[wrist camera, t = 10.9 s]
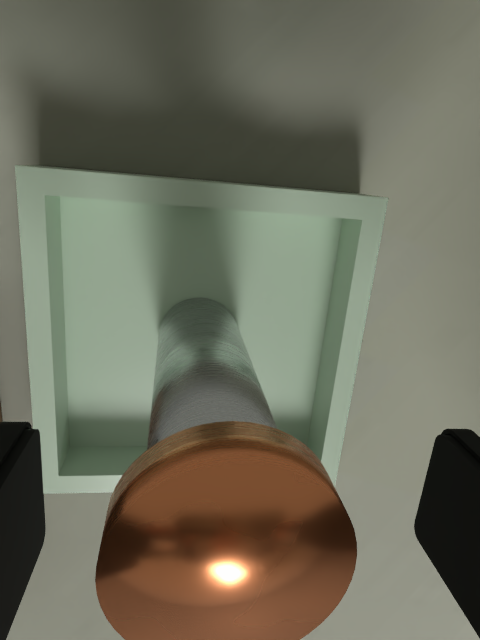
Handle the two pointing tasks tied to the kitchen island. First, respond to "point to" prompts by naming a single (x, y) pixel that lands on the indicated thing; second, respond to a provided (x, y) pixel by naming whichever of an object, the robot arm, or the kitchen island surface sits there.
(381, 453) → the kitchen island surface
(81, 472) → the tray
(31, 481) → the robot arm
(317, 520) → the lock pin
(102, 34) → the kitchen island surface
